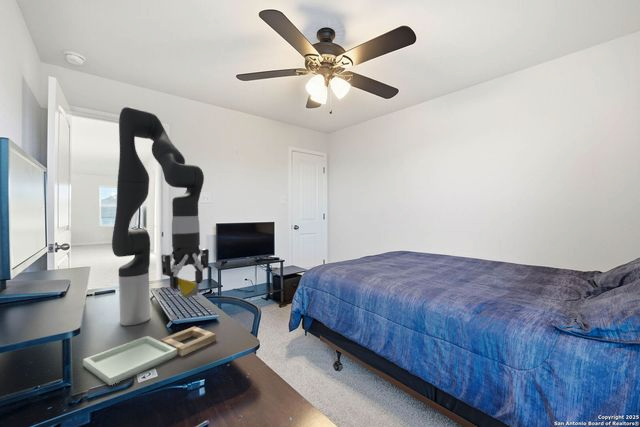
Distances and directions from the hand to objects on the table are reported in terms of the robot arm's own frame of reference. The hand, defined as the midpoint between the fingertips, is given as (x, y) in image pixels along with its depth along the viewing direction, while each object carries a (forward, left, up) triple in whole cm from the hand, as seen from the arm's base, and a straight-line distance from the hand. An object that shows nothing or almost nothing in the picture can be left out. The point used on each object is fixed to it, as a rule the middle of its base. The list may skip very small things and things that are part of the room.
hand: (187, 285), depth 87 cm
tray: (-4, -14, -17) cm, 23 cm away
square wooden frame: (0, 0, -17) cm, 17 cm away
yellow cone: (0, 0, -4) cm, 4 cm away
